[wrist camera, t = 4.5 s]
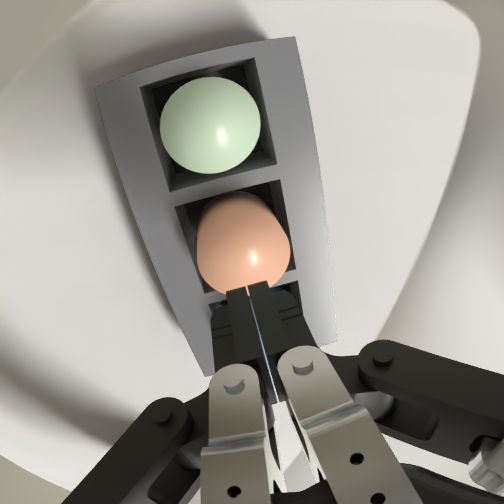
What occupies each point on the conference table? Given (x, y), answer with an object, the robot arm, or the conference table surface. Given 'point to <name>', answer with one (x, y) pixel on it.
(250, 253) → the orange button
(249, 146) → the sage button
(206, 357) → the tray
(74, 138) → the conference table surface
